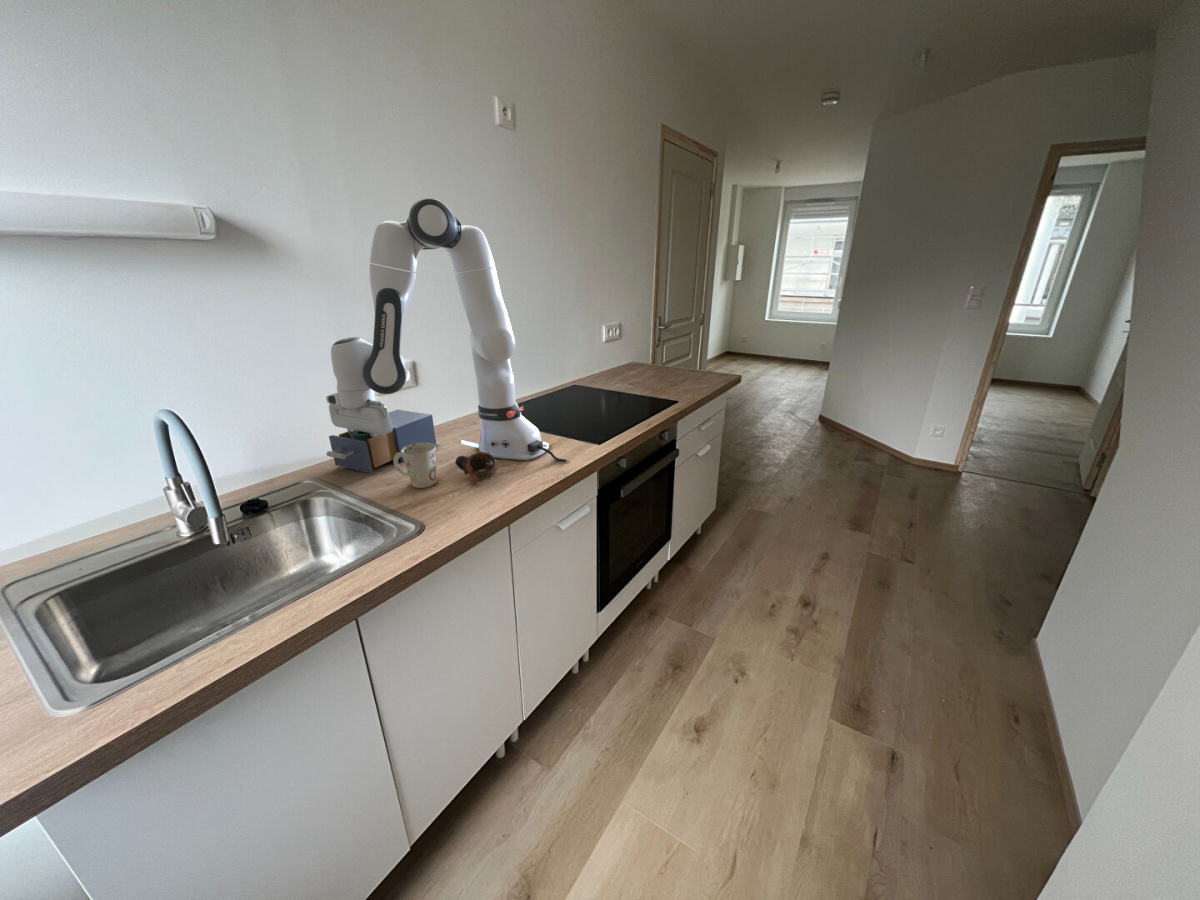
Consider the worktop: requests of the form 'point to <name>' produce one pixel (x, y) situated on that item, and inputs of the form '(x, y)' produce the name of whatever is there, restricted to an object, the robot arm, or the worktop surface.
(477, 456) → the pottery mug
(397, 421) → the cabinet
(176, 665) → the worktop surface
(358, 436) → the jar
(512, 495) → the worktop surface
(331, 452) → the drawer
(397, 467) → the mug
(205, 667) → the worktop surface
